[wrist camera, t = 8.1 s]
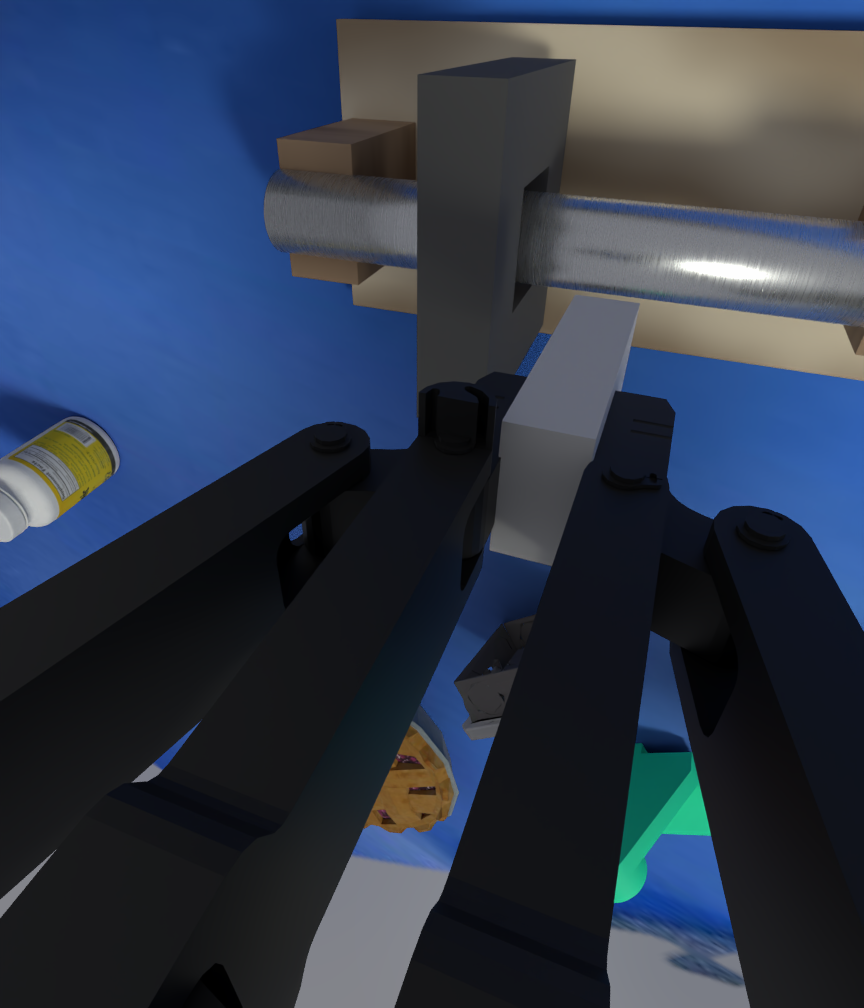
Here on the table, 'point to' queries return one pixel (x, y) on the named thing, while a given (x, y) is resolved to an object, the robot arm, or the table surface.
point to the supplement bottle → (53, 474)
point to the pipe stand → (631, 149)
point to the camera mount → (657, 811)
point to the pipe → (599, 245)
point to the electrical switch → (492, 678)
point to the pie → (417, 781)
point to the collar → (482, 209)
